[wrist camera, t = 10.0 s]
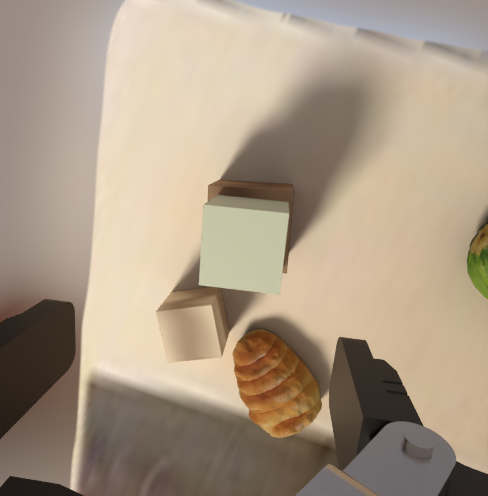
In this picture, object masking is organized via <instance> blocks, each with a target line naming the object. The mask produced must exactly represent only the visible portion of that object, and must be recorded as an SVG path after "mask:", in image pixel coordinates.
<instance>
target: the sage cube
mask: <svg viewBox="0 0 488 496" xmlns="http://www.w3.org/2000/svg"><path fill="white" fill-rule="evenodd" d="M288 220H289V202H284V201H274V200H264V199H254V198H244V197H234V196H224V195H217V196H215V197H214V198H212V199H211V200H210V201H208V202H207V203H205V204H204V207H203V223H202V239H201V256H200V272H199V285H202V286H210V287H219V288H227V289H236V290H244V291H252V292H261V293H269V294H278V295H280V288H281V279H282V271H283V262H284V254H285V245H286V237H287V228H288Z"/></svg>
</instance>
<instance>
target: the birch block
mask: <svg viewBox="0 0 488 496" xmlns="http://www.w3.org/2000/svg"><path fill="white" fill-rule="evenodd" d="M156 314H157V318H158V322H159V326H160V331H161V335H162V339H163V343H164V348H165V352H166V356H167V361H168V363H169V362H179V361H189V360H199V359H209V358H219V357H222V355H223V351H224V348H225V345H226V341H227V338H228V335H229V328H228V323H227V318H226V312H225V307H224V302H223V297H222V291H221V288H219V287H205V288H198V289H190V290H182V291H174V292H171V293H170V294H169V296H168V297H167V298H166V300H165V301H164V302H163V303H162V305H161V306H160V307H159V309H158V310H157V311H156Z"/></svg>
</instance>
